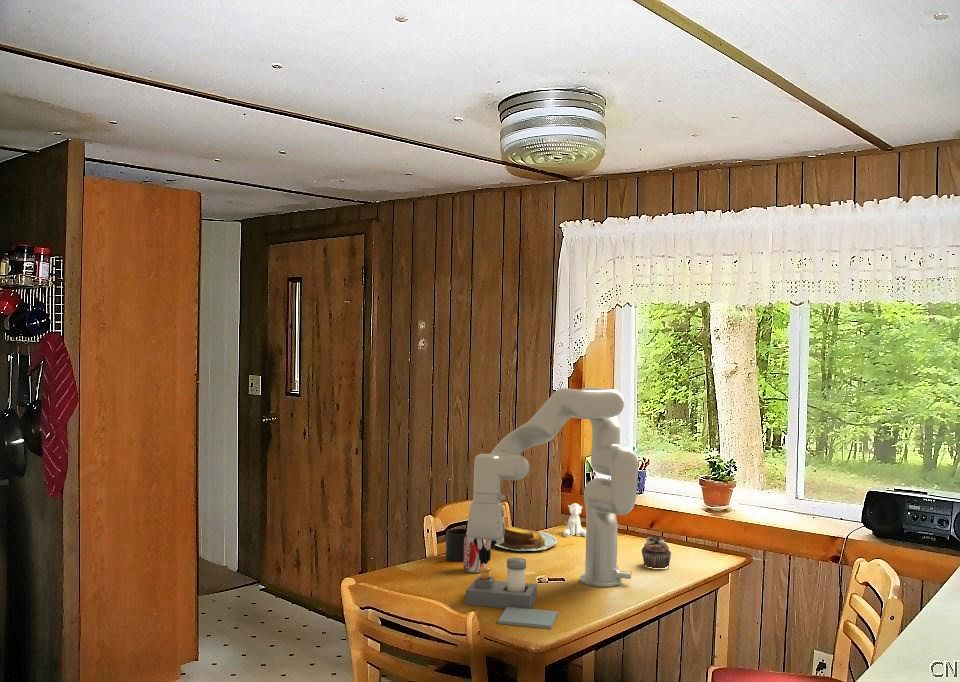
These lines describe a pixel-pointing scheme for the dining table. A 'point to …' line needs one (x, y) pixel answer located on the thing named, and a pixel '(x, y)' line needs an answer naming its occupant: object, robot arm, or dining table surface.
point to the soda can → (472, 556)
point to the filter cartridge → (516, 574)
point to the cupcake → (656, 553)
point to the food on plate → (526, 539)
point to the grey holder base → (499, 594)
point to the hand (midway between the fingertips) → (484, 562)
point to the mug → (455, 544)
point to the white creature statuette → (574, 521)
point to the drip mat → (528, 617)
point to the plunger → (485, 572)
